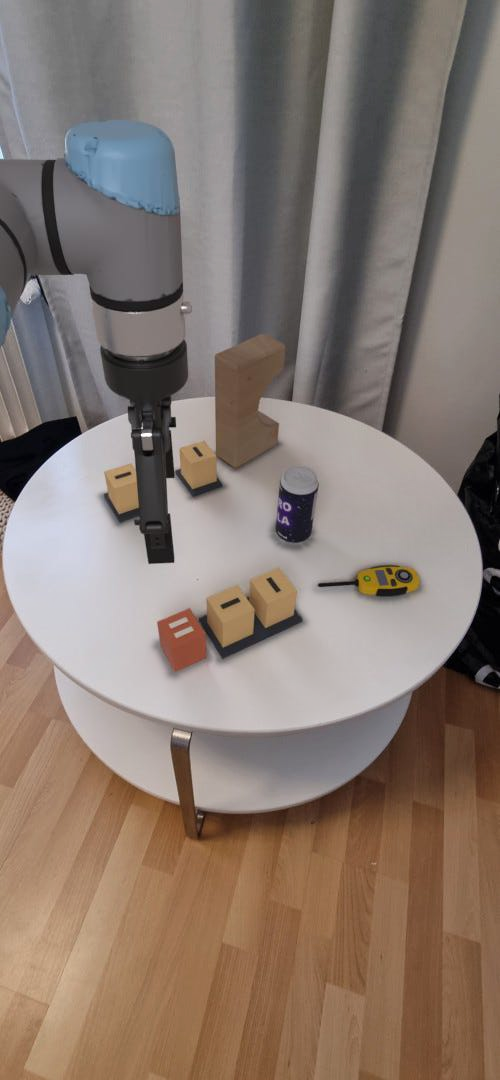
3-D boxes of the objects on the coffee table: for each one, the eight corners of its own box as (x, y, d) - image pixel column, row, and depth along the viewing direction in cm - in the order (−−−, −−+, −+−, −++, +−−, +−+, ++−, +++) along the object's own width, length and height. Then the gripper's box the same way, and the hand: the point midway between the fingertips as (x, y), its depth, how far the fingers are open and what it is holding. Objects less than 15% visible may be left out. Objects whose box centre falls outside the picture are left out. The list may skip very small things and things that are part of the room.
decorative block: (258, 430, 111) (263, 331, 97) (279, 444, 108) (287, 344, 94) (213, 454, 106) (212, 353, 91) (234, 470, 103) (236, 368, 88)
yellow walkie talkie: (424, 586, 84) (321, 593, 82) (421, 595, 85) (320, 601, 84) (414, 561, 87) (315, 567, 86) (411, 570, 88) (313, 576, 87)
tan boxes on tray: (222, 659, 77) (222, 632, 72) (198, 620, 81) (197, 592, 76) (302, 622, 81) (306, 594, 77) (276, 587, 85) (279, 559, 81)
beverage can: (285, 516, 95) (291, 458, 87) (316, 529, 94) (326, 471, 85) (268, 537, 92) (273, 479, 83) (300, 552, 90) (309, 494, 81)
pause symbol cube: (174, 672, 75) (171, 648, 71) (160, 645, 78) (156, 621, 74) (206, 657, 77) (205, 633, 73) (191, 631, 79) (189, 607, 75)
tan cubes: (119, 522, 93) (113, 493, 89) (104, 496, 97) (98, 467, 93) (222, 487, 100) (222, 458, 95) (204, 463, 104) (203, 435, 99)
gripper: (188, 424, 43) (198, 601, 58) (184, 279, 60) (193, 446, 75) (83, 427, 42) (122, 605, 57) (110, 279, 59) (134, 448, 74)
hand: (162, 515), depth 66 cm, fingers open, 13 cm apart
